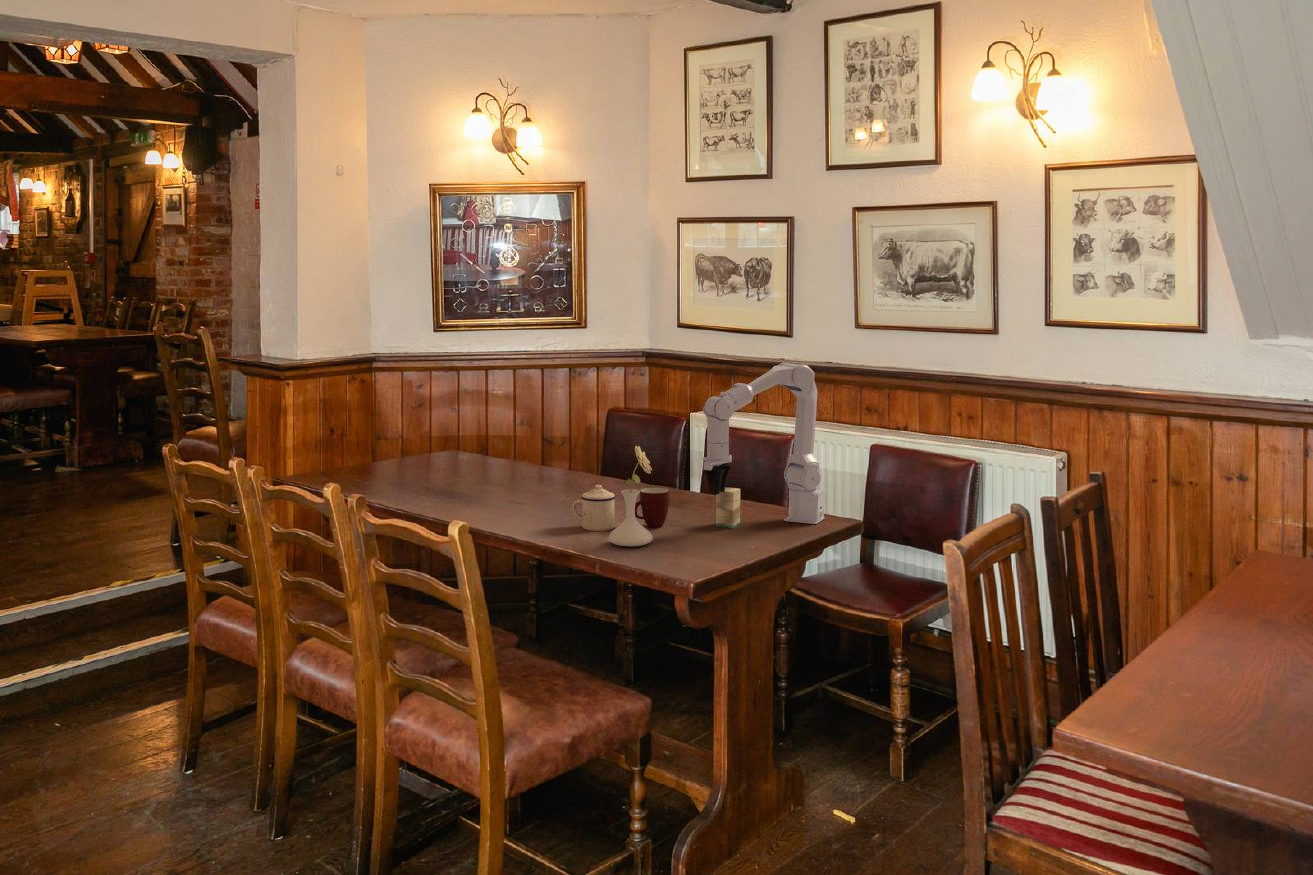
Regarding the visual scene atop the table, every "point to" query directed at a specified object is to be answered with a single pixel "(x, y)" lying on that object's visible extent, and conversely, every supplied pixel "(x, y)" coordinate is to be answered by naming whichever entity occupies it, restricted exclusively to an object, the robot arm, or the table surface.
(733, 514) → the birch block
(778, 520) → the table surface
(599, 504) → the teacup with lid
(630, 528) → the flower in vase
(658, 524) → the mug
